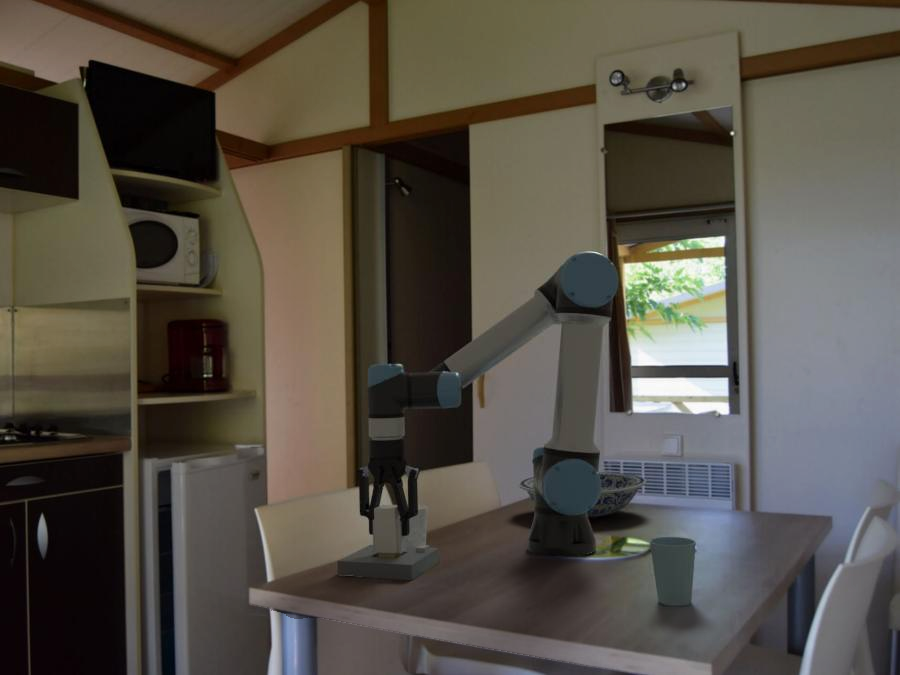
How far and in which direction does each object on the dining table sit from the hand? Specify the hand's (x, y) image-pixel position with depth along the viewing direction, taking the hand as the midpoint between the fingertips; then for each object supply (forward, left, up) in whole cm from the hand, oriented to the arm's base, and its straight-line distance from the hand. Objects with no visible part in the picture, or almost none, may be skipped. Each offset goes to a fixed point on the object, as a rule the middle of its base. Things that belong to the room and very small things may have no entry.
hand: (389, 550), depth 178 cm
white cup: (+2, -17, -4) cm, 18 cm away
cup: (-58, +12, -4) cm, 59 cm away
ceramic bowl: (-28, -69, -4) cm, 75 cm away
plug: (0, 0, -3) cm, 3 cm away
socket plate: (0, 0, -4) cm, 4 cm away
